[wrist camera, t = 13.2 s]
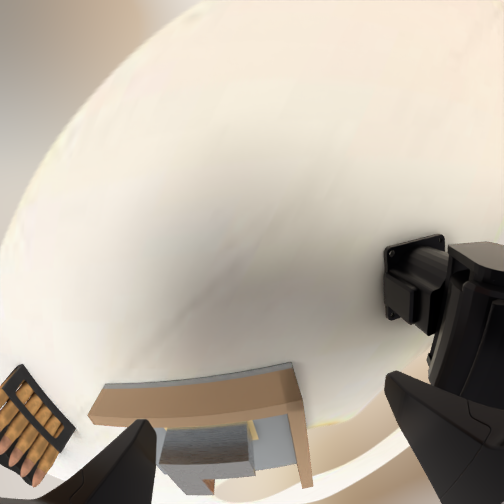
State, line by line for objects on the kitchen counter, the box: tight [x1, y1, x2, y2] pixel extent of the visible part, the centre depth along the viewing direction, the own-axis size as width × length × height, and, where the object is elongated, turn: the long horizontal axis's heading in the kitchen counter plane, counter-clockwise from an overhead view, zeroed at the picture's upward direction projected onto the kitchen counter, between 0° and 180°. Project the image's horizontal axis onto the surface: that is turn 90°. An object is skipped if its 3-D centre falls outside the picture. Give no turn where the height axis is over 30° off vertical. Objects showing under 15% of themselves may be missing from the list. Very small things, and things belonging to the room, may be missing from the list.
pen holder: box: [0, 414, 40, 486], centre depth 19 cm, size 9×9×10 cm
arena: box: [87, 362, 313, 489], centre depth 21 cm, size 18×16×5 cm
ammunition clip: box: [0, 364, 75, 487], centre depth 16 cm, size 11×2×12 cm, turn 26°
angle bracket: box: [159, 421, 255, 495], centre depth 20 cm, size 7×8×5 cm
